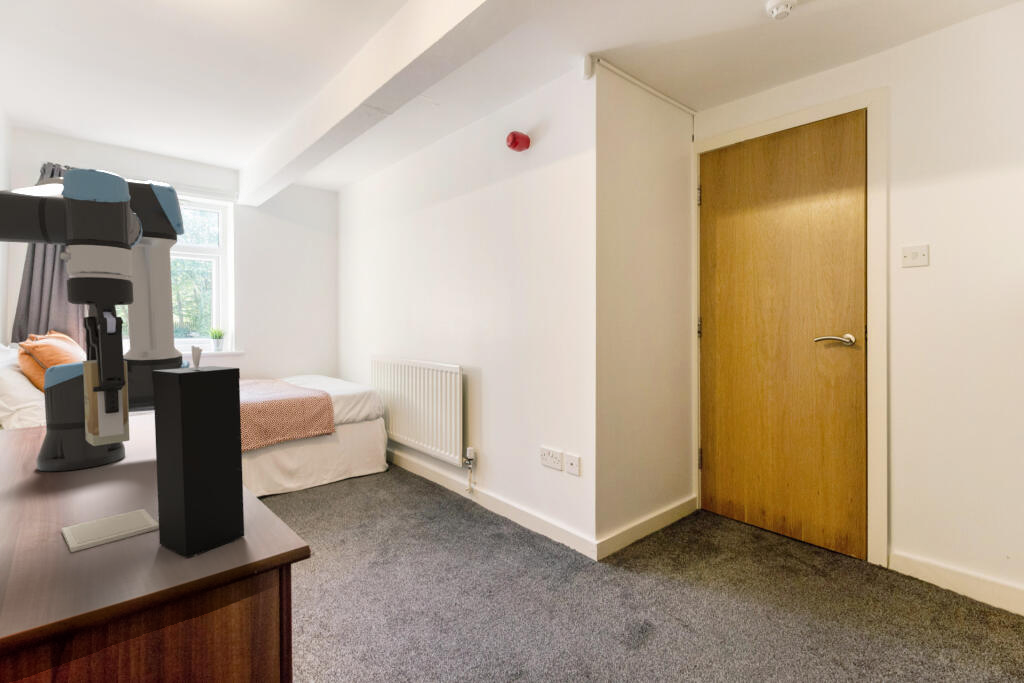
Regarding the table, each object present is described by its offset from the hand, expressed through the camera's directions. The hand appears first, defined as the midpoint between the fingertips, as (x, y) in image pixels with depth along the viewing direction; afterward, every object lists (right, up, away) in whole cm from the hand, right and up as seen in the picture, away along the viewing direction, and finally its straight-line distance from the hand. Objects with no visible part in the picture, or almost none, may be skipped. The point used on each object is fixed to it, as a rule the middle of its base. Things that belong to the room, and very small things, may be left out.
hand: (107, 431), depth 73 cm
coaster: (0, -15, 0) cm, 15 cm away
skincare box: (0, -2, 0) cm, 2 cm away
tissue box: (+17, -15, -4) cm, 23 cm away
